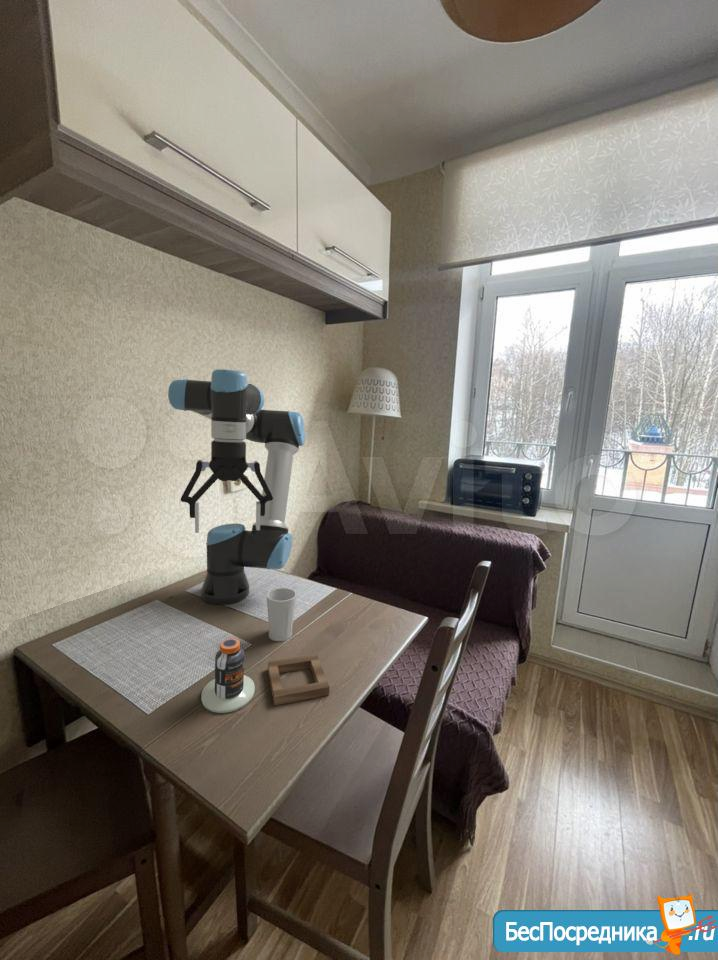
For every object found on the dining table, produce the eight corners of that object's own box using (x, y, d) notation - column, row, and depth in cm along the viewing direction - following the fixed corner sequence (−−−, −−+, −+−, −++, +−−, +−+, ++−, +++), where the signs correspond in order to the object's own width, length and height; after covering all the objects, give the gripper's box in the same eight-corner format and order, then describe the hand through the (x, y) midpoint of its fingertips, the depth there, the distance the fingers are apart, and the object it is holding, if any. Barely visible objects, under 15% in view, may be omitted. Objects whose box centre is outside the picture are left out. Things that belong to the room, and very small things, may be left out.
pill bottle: (225, 704, 79) (225, 655, 78) (209, 691, 83) (209, 643, 81) (249, 689, 84) (250, 642, 82) (233, 677, 88) (233, 631, 86)
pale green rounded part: (202, 681, 87) (202, 678, 87) (252, 673, 91) (252, 670, 90) (200, 718, 77) (200, 714, 77) (256, 707, 80) (256, 703, 80)
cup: (288, 645, 102) (289, 603, 100) (260, 640, 104) (261, 598, 102) (298, 629, 110) (300, 590, 108) (272, 624, 112) (273, 586, 110)
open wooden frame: (267, 669, 92) (267, 661, 92) (316, 661, 96) (316, 654, 96) (274, 705, 81) (274, 697, 81) (329, 694, 85) (329, 686, 85)
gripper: (165, 439, 80) (167, 537, 83) (286, 443, 88) (283, 532, 92) (170, 436, 87) (171, 527, 90) (281, 440, 95) (279, 523, 99)
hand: (228, 530), depth 91 cm, fingers open, 13 cm apart
